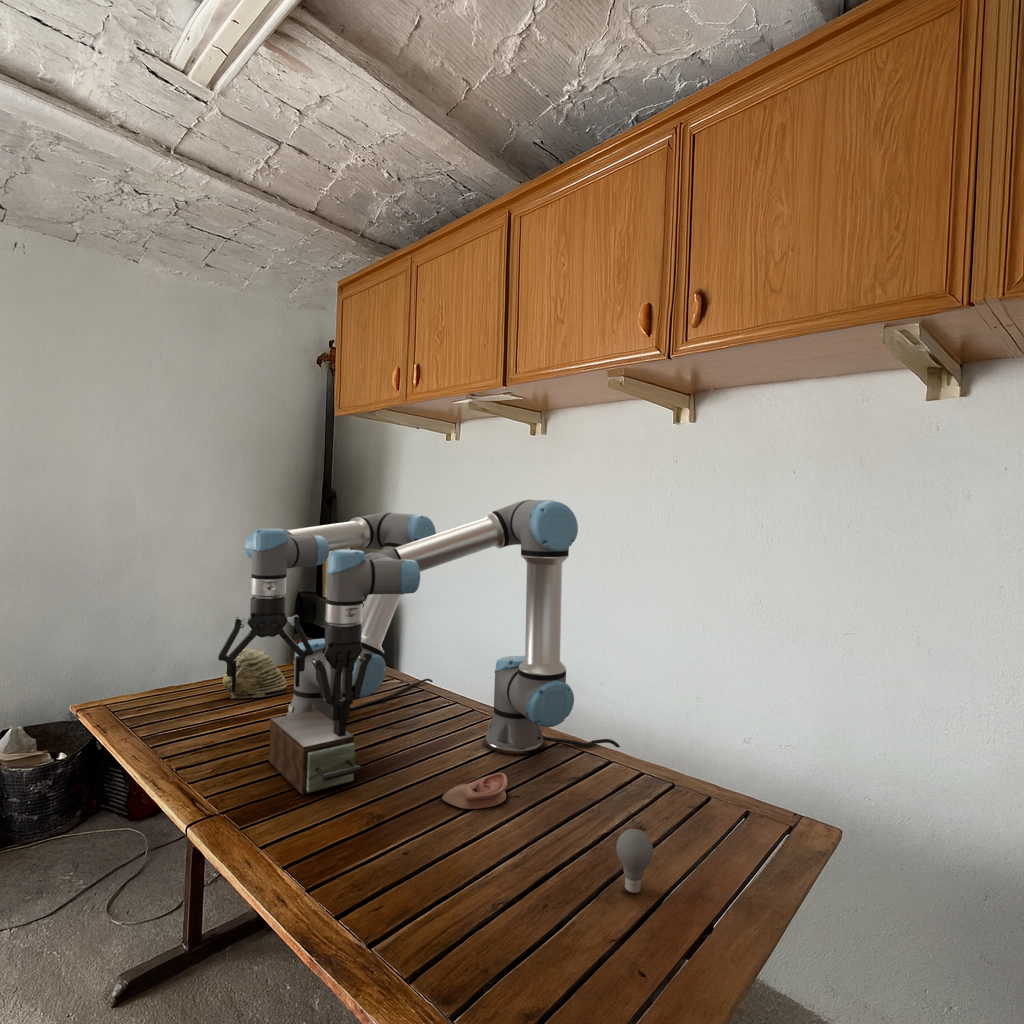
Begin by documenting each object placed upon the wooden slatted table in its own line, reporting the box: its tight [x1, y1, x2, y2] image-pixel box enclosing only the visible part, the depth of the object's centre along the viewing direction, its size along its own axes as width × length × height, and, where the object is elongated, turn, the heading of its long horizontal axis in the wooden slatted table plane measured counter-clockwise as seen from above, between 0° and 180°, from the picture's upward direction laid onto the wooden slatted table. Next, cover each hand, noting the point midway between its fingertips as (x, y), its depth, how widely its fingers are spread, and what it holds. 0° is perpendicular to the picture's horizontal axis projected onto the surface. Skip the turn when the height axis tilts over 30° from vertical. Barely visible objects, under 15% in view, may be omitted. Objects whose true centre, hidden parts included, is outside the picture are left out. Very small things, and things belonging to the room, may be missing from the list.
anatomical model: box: [441, 772, 508, 810], centre depth 136 cm, size 13×4×12 cm
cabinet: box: [268, 710, 355, 796], centre depth 146 cm, size 21×11×10 cm, turn 40°
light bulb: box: [615, 828, 654, 894], centre depth 106 cm, size 6×6×10 cm
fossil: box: [222, 646, 288, 699], centre depth 198 cm, size 9×18×15 cm, turn 132°
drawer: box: [306, 742, 362, 794], centre depth 142 cm, size 25×10×8 cm, turn 40°
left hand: (265, 687), depth 146 cm, fingers open, 13 cm apart
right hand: (339, 733), depth 134 cm, fingers closed
